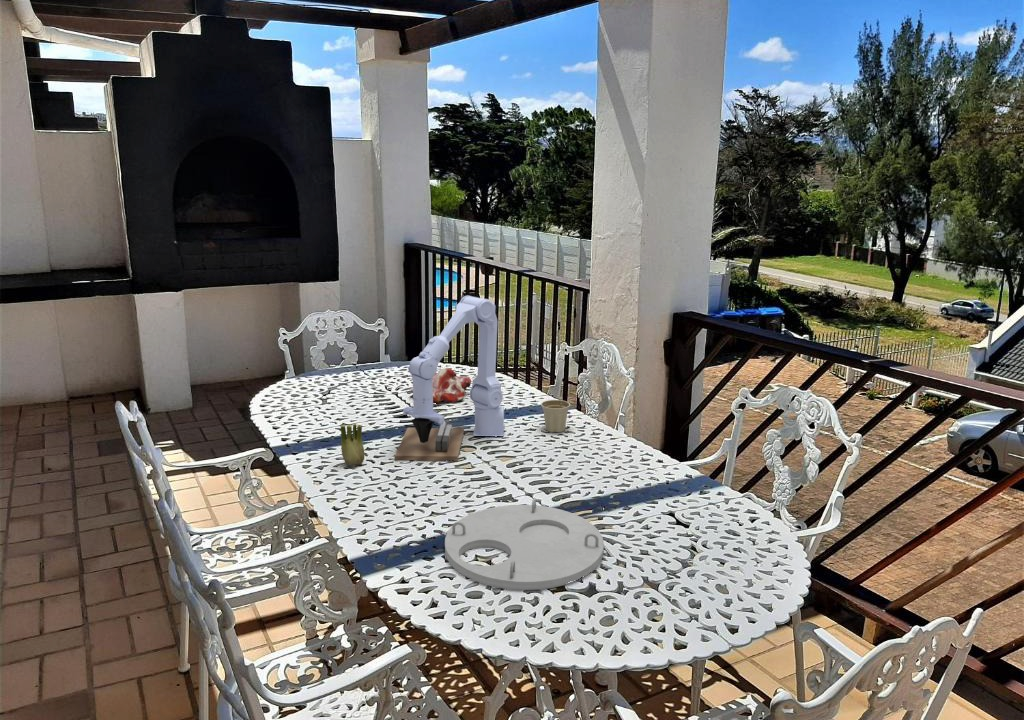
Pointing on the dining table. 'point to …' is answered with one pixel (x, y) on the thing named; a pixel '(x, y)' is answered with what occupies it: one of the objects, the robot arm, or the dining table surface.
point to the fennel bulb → (352, 445)
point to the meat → (449, 386)
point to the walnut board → (428, 446)
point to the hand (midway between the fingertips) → (424, 441)
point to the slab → (526, 546)
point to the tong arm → (441, 435)
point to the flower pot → (555, 414)
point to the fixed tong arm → (446, 438)
